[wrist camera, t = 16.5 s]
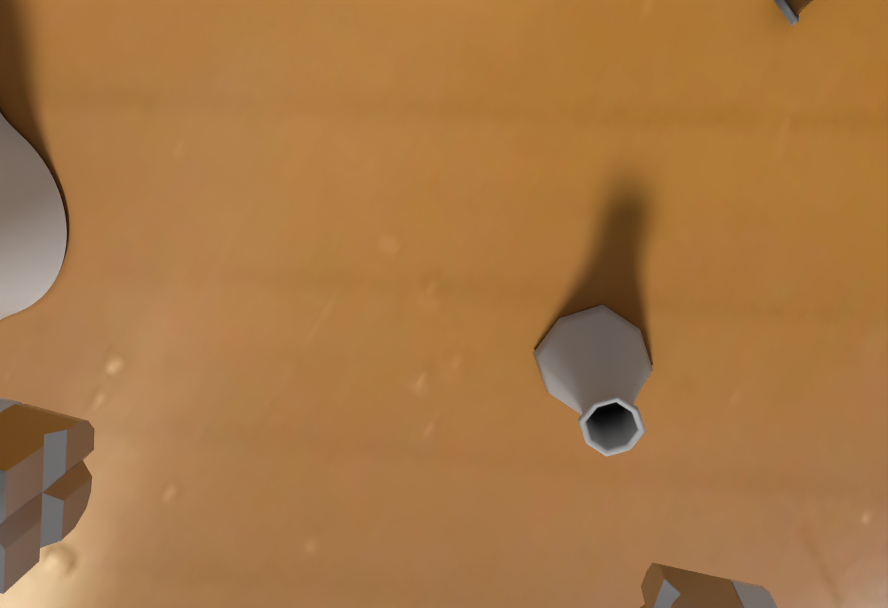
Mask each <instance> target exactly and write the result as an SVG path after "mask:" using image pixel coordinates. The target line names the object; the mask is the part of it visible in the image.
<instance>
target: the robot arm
mask: <svg viewBox="0 0 888 608" xmlns="http://www.w3.org/2000/svg"><path fill="white" fill-rule="evenodd" d="M66 239H67V229H66V218H65V212H64V207H63V203H62V199H61V196H60V193H59V191H58V188H57V186H56V183H55V181H54V179H53V177H52V175H51V173H50V171H49V169H48V168H47V166H46V165H45V163H44V161H43V160H42V159H41V157H40V156H39V154H38V153H37V152H36V151H35V149H34V148H33V147H32V146H31V145H30V144H29V143H28V142H27V140H26V139H24V138H23V137H22V136H21V135H20V134H19V133H18V132H17V131H16V130H15V129H14V128H13V127H12V126H11V125H10V124H9V123H8V122H7V121H6V120H5V118H4V117H3V116H2V115H1V113H0V320H1V319H3V318H5V317H7V316H9V315H12V314H14V313H17V312H19V311H22V310H24V309H26V308H27V307H29V306H31V305H32V304H34V303H35V302H36V301H38V300H39V299H40V298H41V297H42V296H43V295H44V294H45V293H46V292H47V291H48V289H49V288H50V287H51V285H52V284H53V282H54V281H55V279H56V277H57V275H58V273H59V271H60V268H61V265H62V262H63V259H64V255H65V249H66ZM93 450H94V428H93V427H92V425H91V424H90V423H89V421H87V420H83V419H80V418H76V417H72V416H68V415H65V414H61V413H57V412H54V411H50V410H46V409H43V408H39V407H35V406H32V405H28V404H22V403H21V402H18V401H13V400H9V399H5V398H0V593H3V594H4V593H5V592H6V591H7V590H8V589H9V588H10V587H11V586H13V585H14V584H15V583H16V582H17V581H18V580H19V579H20V578H21V577H22V576H23V575H24V574H26V573H27V572H28V571H29V570H30V569H31V568H32V567H33V566H34V565H35V564H36V563H38V562H39V555H40V548H41V547H44V546H47V545H50V544H53V543H56V542H58V541H61V540H62V539H63V538H64V537H65V536H66V535H67V534H69V533H70V532H71V531H72V530H73V529H74V528H75V526H76V525H77V523H78V521H79V519H80V518H81V516H82V514H83V513H84V511H85V509H86V507H87V503H88V500H89V496H90V493H91V483H92V476H91V474H90V472H89V471H88V469H87V467H86V465H85V463H84V462H83V460H84V459H85V458H86V457H87V456H88V455H89V454H90V453H91V452H92V451H93ZM641 589H642V593H643V597H644V601H645V605H643V606H642V607H640V608H777V606H776V604H775V602H774V600H773V598H772V596H771V594H770V592H769V591H767V590H766V589H765V588H764V587H762V586H759V585H754V584H749V583H744V582H740V581H735V580H730V579H724V578H719V577H715V576H710V575H706V574H702V573H697V572H693V571H688V570H684V569H679V568H675V567H670V566H666V565H661V564H657V563H652V564H651V566H650V567H649V569H648V570H647V572H646V574H645V577H644V580H643V583H642V585H641Z"/></svg>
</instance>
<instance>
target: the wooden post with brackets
mask: <svg viewBox="0 0 888 608" xmlns="http://www.w3.org/2000/svg"><path fill="white" fill-rule="evenodd" d="M774 1H775V3H776V4H777V6H778V7H779V8H780V10H781V11H782V13H783V14H784V16H785V17H786V19H787V20H788V21H789V23H790V24H791V26H793V25H794V24H795V23H796V22H798V21H799V16H798V14H799V13H800V12H801V11H802V10H803V9H804V8H805V7H806V6H807V5H808V4H809V3H810V2H812V1H813V0H774Z"/></svg>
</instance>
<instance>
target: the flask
mask: <svg viewBox="0 0 888 608" xmlns="http://www.w3.org/2000/svg"><path fill="white" fill-rule="evenodd" d="M533 354H534V356H535V359H536V362H537V365H538V368H539V371H540V373H541V376H542V379H543V382H544V385H545V387H546V390H547V392H548V393H549V394H551V395H552V396H554V397H555V398H557V399H558V400H560V401H562V402H563V403H565V404H566V405H568V406H569V407H571V408H572V409H574V410H575V411H577V412H578V413H580V415H581V416H580V417H579V419H578V422H579V424H580V427H581V430H582V433H583V436H584V439H585V442H586V444H588V445H589V446H591V447H592V448H594V449H595V450H597V451H599V452H600V453H602V454H603V455H605V456H610V455H613V454H617V453H621V452H624V451H628V450H631V448H632V447H633V446H634V445H635V444H636V442H637V441H638V440H639V439H640V438H641V436H642V435H643V434H644V433H645V428H644V425H643V422H642V419H641V416H640V413H639V410H638V408H637V407H636V406H635V405H634V401H635V399H636V397H637V395H638V393H639V391H640V389H641V387H642V386H643V384H644V383H645V381H646V380H647V378H648V377H649V375H650V373H651V371H652V370H653V369H652V366H651V363H650V359H649V356H648V353H647V350H646V347H645V344H644V340H643V337H642V334H641V331H640V329H639V328H638V327H636V326H635V325H633V324H631V323H630V322H628V321H627V320H625V319H624V318H622V317H621V316H619V315H618V314H616V313H615V312H613V311H612V310H610V309H609V308H607V307H606V306H604V305H599V306H596V307H593V308H590V309H587V310H584V311H580V312H577V313H574V314H571V315H568V316H565V317H562V318H559V319H558V320H557V322H556V323H555V324H554V326H553V327H552V328H551V330H550V331H549V332H548V334H547V335H546V337H545V338H544V339H543V341H542V342H541V343H540V345H539V346H538V347H537V349H536V350H535V351H534V353H533Z"/></svg>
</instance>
